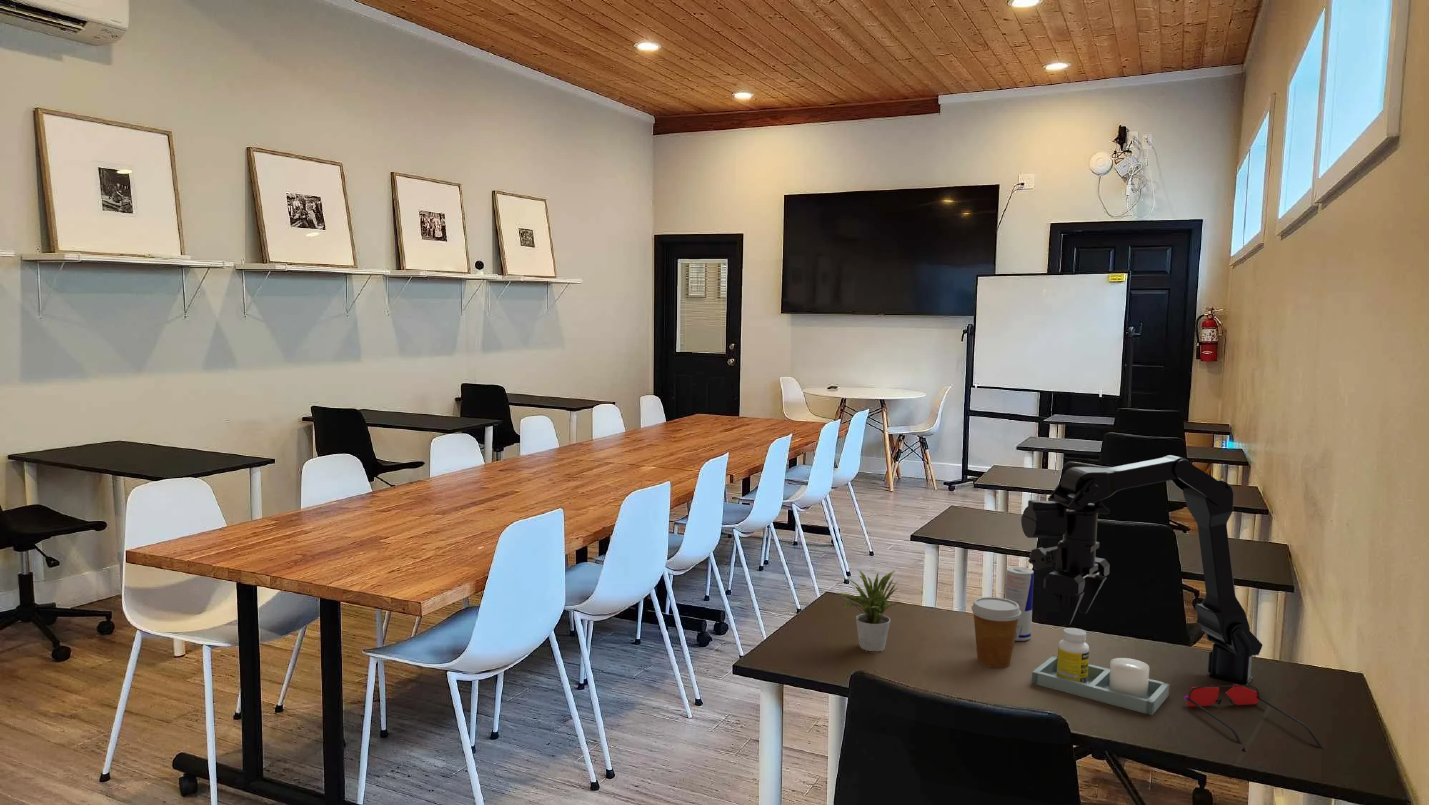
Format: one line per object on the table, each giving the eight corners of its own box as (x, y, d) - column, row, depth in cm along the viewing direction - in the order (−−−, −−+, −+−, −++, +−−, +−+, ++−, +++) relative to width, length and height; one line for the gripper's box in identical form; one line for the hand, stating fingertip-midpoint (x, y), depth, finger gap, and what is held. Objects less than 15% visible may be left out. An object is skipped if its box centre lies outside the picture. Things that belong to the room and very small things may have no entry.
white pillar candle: (1151, 696, 169) (1153, 663, 168) (1141, 707, 164) (1143, 674, 164) (1114, 686, 173) (1116, 655, 173) (1103, 697, 168) (1105, 665, 168)
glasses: (1255, 708, 167) (1257, 681, 167) (1324, 751, 151) (1326, 721, 151) (1181, 710, 166) (1183, 683, 165) (1243, 754, 150) (1245, 724, 149)
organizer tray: (1168, 699, 169) (1169, 683, 169) (1151, 719, 161) (1152, 702, 161) (1052, 670, 183) (1053, 655, 182) (1031, 687, 174) (1032, 671, 174)
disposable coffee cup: (966, 666, 184) (968, 607, 183) (972, 650, 193) (974, 594, 192) (1016, 674, 181) (1019, 613, 179) (1020, 657, 189) (1023, 600, 188)
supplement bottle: (1084, 690, 171) (1087, 638, 170) (1053, 683, 174) (1056, 632, 173) (1089, 680, 176) (1092, 629, 175) (1059, 674, 179) (1062, 624, 178)
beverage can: (1032, 643, 198) (1035, 573, 196) (1004, 641, 199) (1007, 572, 197) (1029, 634, 203) (1032, 566, 202) (1002, 632, 204) (1005, 565, 203)
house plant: (858, 629, 205) (860, 556, 203) (917, 643, 197) (920, 567, 195) (826, 648, 193) (828, 570, 192) (887, 663, 185) (890, 582, 184)
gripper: (1053, 521, 185) (1049, 598, 186) (1017, 538, 170) (1013, 621, 172) (1112, 530, 178) (1107, 610, 179) (1079, 549, 163) (1074, 636, 165)
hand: (1075, 619), depth 174 cm, fingers open, 9 cm apart
